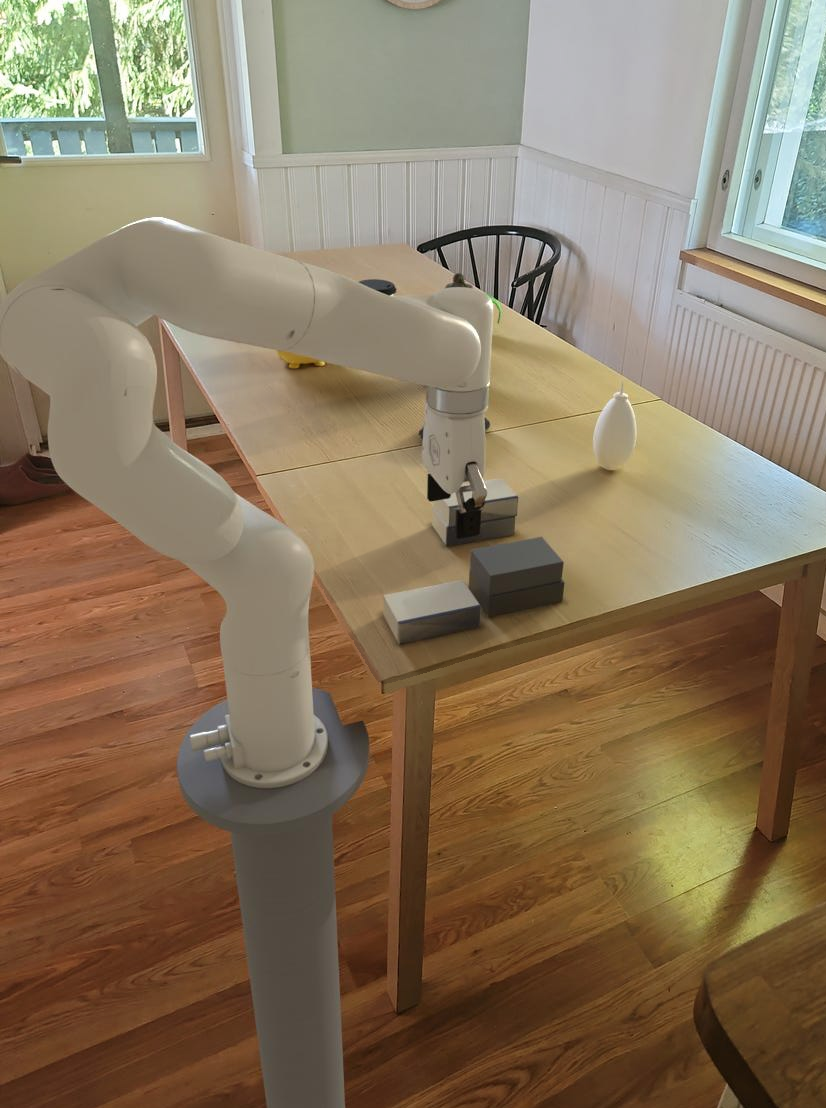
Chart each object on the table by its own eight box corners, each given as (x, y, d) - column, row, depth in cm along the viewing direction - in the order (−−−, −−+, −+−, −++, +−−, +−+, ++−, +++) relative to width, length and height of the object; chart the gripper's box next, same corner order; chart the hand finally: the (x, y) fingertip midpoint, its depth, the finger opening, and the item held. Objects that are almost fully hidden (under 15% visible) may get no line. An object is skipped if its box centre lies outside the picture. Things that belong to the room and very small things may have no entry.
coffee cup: (402, 326, 233) (402, 281, 227) (387, 338, 224) (387, 292, 218) (364, 320, 236) (363, 276, 229) (348, 332, 226) (347, 287, 220)
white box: (398, 644, 118) (398, 623, 116) (383, 615, 123) (383, 594, 122) (480, 627, 122) (481, 606, 120) (461, 599, 128) (462, 579, 126)
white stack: (446, 546, 140) (448, 509, 136) (431, 524, 145) (432, 488, 142) (515, 534, 144) (519, 497, 141) (498, 513, 150) (501, 477, 146)
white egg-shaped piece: (582, 461, 169) (594, 374, 160) (618, 457, 171) (631, 371, 162) (601, 480, 163) (614, 390, 154) (638, 475, 165) (652, 386, 156)
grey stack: (488, 617, 124) (491, 577, 121) (468, 588, 130) (470, 548, 127) (562, 601, 129) (567, 562, 125) (539, 573, 134) (544, 535, 131)
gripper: (403, 371, 109) (403, 490, 118) (455, 428, 96) (450, 557, 104) (458, 365, 112) (454, 482, 120) (516, 419, 98) (507, 546, 107)
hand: (452, 516), depth 112 cm, fingers open, 9 cm apart
